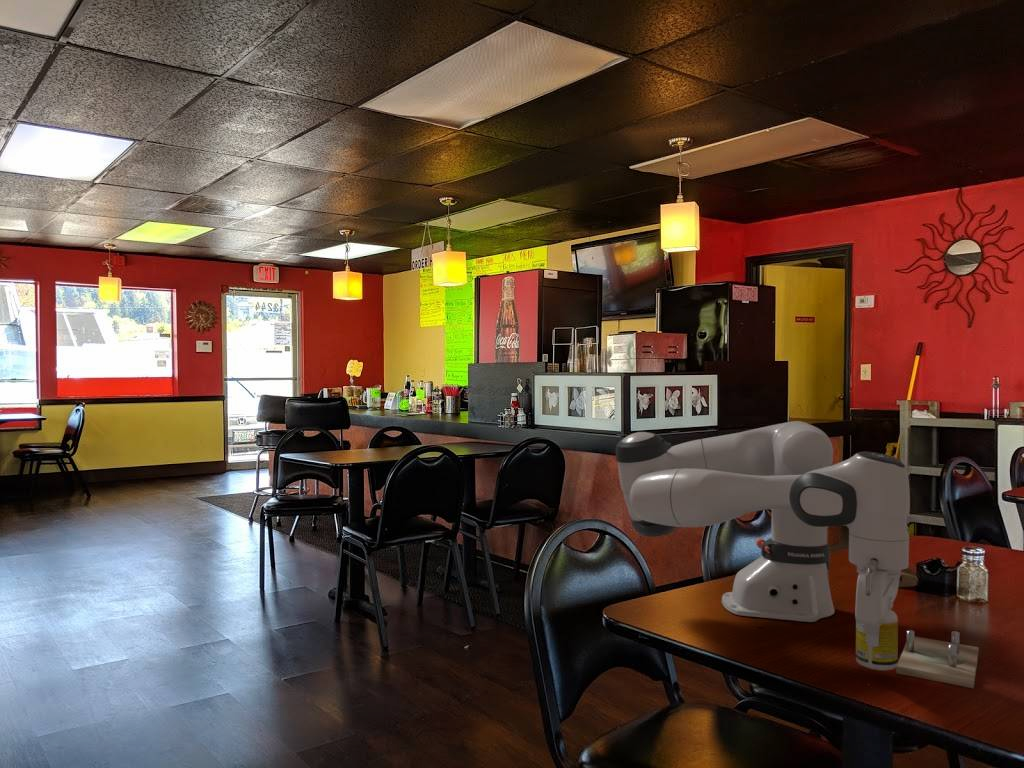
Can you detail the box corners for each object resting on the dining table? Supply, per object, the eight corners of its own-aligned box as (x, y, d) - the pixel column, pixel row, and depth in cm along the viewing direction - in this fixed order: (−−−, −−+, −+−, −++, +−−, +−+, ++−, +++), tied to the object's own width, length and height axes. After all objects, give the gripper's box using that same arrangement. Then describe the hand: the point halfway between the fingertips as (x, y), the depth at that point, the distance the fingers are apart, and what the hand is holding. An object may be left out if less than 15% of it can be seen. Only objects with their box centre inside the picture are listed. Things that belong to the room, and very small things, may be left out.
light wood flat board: (973, 688, 124) (973, 680, 124) (896, 673, 130) (896, 665, 130) (978, 654, 139) (978, 646, 139) (909, 642, 145) (909, 635, 145)
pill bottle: (902, 663, 128) (903, 596, 128) (890, 674, 123) (891, 604, 123) (862, 654, 132) (863, 589, 132) (849, 664, 127) (851, 596, 127)
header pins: (956, 668, 129) (956, 646, 129) (903, 658, 133) (903, 637, 133) (959, 652, 136) (959, 632, 136) (909, 643, 141) (909, 623, 141)
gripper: (891, 569, 117) (889, 662, 117) (907, 544, 134) (905, 624, 134) (845, 563, 120) (843, 653, 121) (867, 539, 137) (865, 618, 138)
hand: (876, 638), depth 128 cm, fingers closed on pill bottle, 6 cm apart
